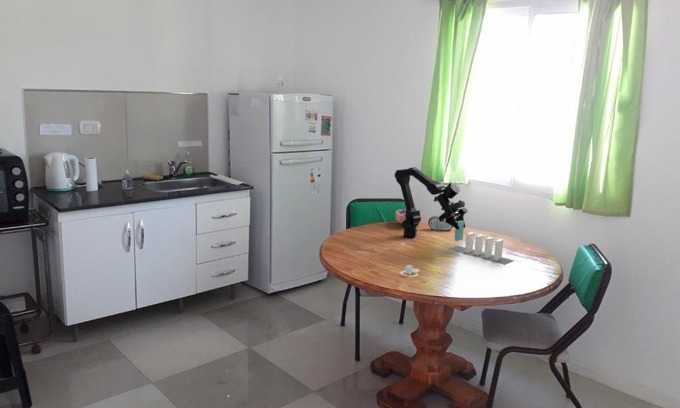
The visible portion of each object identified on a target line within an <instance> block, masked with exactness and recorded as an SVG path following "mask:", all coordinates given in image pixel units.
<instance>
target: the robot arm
mask: <svg viewBox="0 0 680 408" xmlns="http://www.w3.org/2000/svg"><path fill="white" fill-rule="evenodd" d="M411 176H412V177H413V178H414V179H416V180H417V181H418V182H420V183H421V184H422V185H424V186H425V187H426V190H427V191H428V192H429V194H431V195H433V196H434V197H433V198H434V200H433V203H435V202H438V203H439V206H440V207H441V208H440V209H441V211H443V213H442V214H441V215H438V216H439V221H440V222H443V221H444V219H445V218H446V221H445V223H448V224H450V225H451V226H453V228H454V229H455V228H456V229H459V226H458V224H457V222H458V221H464V229H465V228H466V223H465V220H464V215H466V214H467V213H468V212H469V211H468V209H467V208H466V207H465V205H466V202H465V201H464V199H460V200H458V201H457V202H455V201H451V199H454V198H455V197H456V196H457V195H458V194H459V193H460V192H461V190H460V187H459V186H457V185H456V184H454V182H450V183H448V185H447V186H444V184H443V183H441V182H439V181H437V180H433V179H432V178H430V177H429V176H427V175H426V174H425V173H423V172H422V171H421V170H419V168H417V167H415V166H414V167H413V166H412V167H409V168H407V169H406V168H402V169H397V170H395V173H394V178H395V180H396V182H397V184H398V185H399V186H400V189H401V193H402V198H403V201H404V205H405V209H406V214H405V218H406V219H405V220H404V221H403V222H402V224H401V226H402V227H403V235H402V238H407V239H414V238H416V237H417V232H418V229H417V227H418V226H419V224H420V223H421V222H422V221H421V215H420V211H421V210H418V211H417V209H416V206H415V203H414V198H413V195H412V191H411V187H410V180H411ZM435 195H436V196H435ZM420 221H421V222H420Z"/></svg>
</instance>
